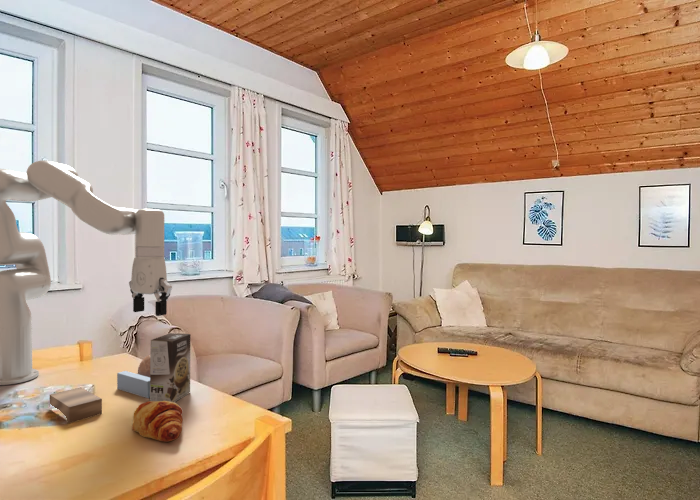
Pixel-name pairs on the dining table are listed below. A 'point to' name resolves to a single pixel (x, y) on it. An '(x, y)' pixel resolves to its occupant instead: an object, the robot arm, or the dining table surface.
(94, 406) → the slab
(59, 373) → the dining table surface
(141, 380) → the rail
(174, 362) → the coffee box
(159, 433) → the croissant
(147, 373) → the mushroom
